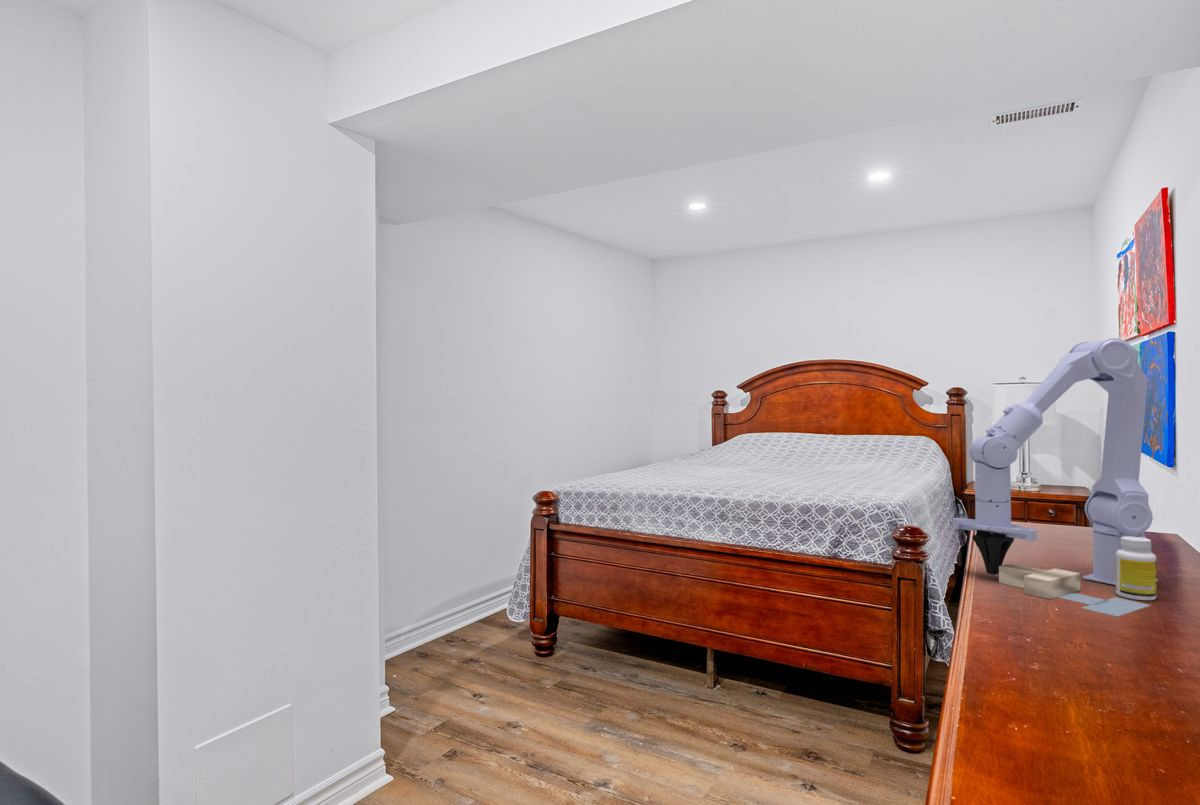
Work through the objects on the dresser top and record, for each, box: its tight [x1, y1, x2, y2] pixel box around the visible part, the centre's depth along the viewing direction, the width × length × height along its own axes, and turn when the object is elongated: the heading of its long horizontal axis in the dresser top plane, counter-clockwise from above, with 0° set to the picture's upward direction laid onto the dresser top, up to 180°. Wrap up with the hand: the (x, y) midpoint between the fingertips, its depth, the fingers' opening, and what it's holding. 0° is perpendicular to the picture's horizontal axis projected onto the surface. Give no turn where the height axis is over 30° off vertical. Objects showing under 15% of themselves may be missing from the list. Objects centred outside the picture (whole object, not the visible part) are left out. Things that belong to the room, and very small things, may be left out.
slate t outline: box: [1057, 592, 1152, 618], centre depth 110 cm, size 11×11×1 cm
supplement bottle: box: [1115, 536, 1158, 601], centre depth 113 cm, size 5×5×10 cm
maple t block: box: [998, 563, 1081, 600], centre depth 118 cm, size 10×10×3 cm
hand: (993, 573), depth 125 cm, fingers closed
